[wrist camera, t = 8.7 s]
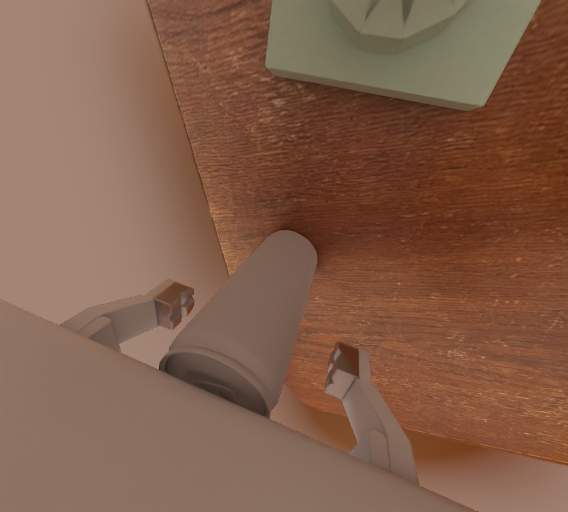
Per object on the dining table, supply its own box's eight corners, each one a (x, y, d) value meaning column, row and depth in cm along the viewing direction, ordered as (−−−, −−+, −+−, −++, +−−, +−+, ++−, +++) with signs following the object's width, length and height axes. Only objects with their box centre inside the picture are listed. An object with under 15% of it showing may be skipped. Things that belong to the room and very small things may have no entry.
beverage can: (261, 225, 18) (138, 335, 7) (320, 229, 17) (270, 367, 6) (265, 275, 20) (173, 413, 10) (317, 281, 19) (276, 448, 8)
